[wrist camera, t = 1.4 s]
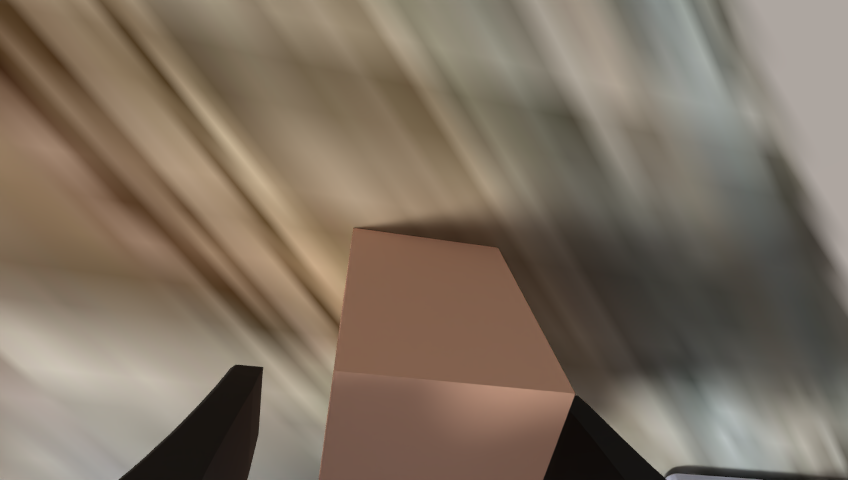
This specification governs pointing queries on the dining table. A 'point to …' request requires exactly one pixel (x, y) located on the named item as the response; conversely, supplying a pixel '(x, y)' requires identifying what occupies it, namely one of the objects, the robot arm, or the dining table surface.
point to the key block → (439, 368)
